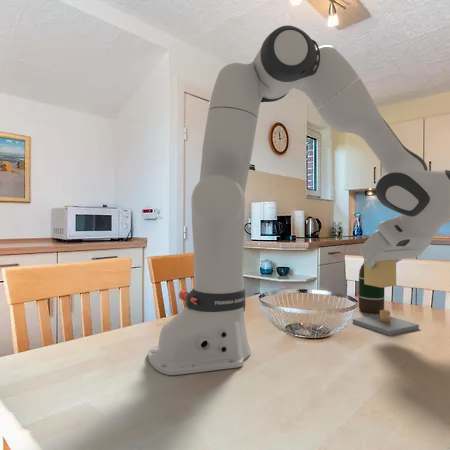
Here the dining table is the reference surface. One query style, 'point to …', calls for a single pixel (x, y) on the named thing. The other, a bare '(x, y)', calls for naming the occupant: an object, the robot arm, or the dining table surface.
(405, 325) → the plate
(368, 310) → the beer bottle
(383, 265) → the tan toy brick
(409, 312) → the dining table surface
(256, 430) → the dining table surface
